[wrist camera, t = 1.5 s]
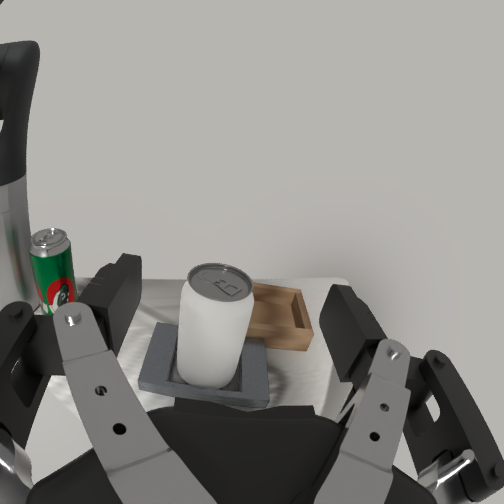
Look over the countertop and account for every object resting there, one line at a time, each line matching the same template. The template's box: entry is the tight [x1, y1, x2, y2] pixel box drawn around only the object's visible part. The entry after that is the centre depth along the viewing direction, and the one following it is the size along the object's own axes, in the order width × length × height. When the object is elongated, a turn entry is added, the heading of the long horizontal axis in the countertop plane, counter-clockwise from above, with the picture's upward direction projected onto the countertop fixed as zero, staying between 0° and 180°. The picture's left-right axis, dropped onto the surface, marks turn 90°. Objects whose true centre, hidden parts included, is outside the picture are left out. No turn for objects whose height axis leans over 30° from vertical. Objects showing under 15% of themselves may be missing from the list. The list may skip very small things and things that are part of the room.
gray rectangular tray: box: [138, 322, 270, 408], centre depth 28 cm, size 13×9×2 cm
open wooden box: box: [245, 282, 314, 351], centre depth 38 cm, size 10×10×3 cm
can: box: [177, 263, 254, 389], centre depth 26 cm, size 6×6×12 cm
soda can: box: [28, 228, 78, 315], centre depth 26 cm, size 5×5×12 cm
